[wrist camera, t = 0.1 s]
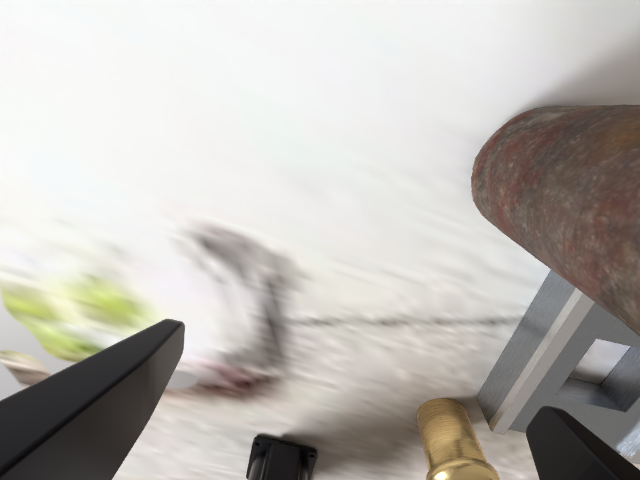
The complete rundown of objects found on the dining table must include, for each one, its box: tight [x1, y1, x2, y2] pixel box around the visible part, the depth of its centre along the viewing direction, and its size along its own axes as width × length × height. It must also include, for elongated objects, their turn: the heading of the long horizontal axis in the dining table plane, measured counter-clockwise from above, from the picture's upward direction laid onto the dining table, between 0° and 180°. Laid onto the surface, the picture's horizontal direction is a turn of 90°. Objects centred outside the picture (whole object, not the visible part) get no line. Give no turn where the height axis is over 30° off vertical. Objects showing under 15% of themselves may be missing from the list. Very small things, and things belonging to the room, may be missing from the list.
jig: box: [476, 269, 640, 464], centre depth 23 cm, size 14×12×3 cm
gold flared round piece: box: [416, 398, 500, 480], centre depth 25 cm, size 5×5×6 cm
